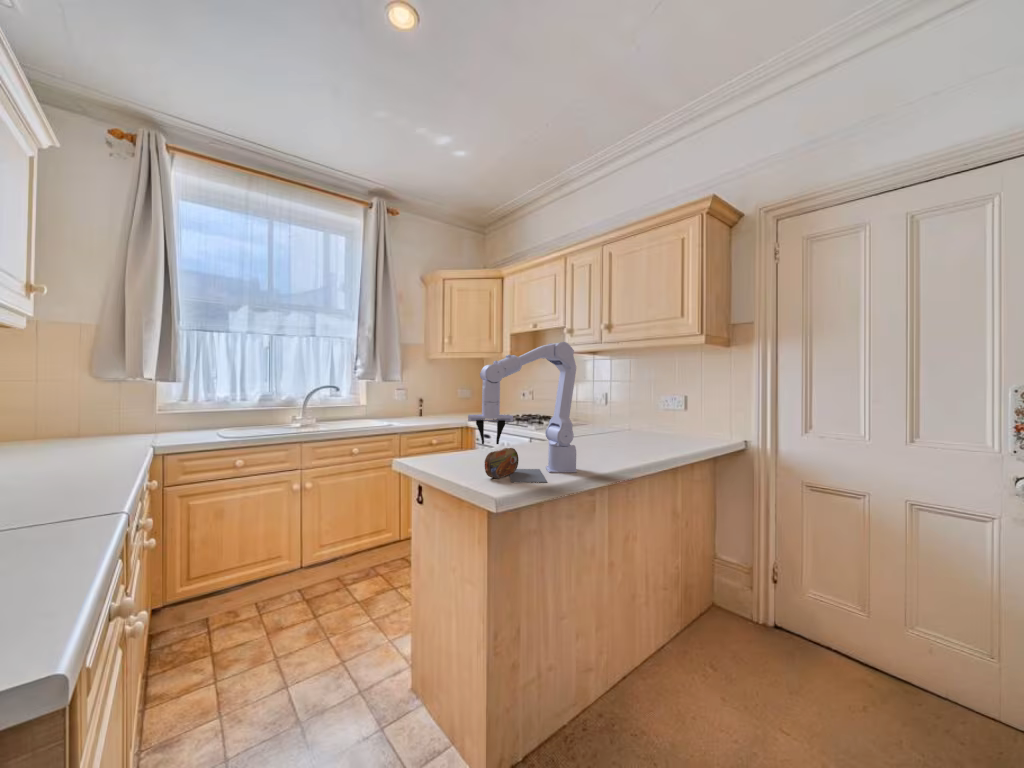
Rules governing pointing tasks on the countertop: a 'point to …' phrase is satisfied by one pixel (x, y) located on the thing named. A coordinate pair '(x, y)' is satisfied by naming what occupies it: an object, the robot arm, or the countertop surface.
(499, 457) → the tin
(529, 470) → the mat
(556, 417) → the robot arm
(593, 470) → the countertop surface
